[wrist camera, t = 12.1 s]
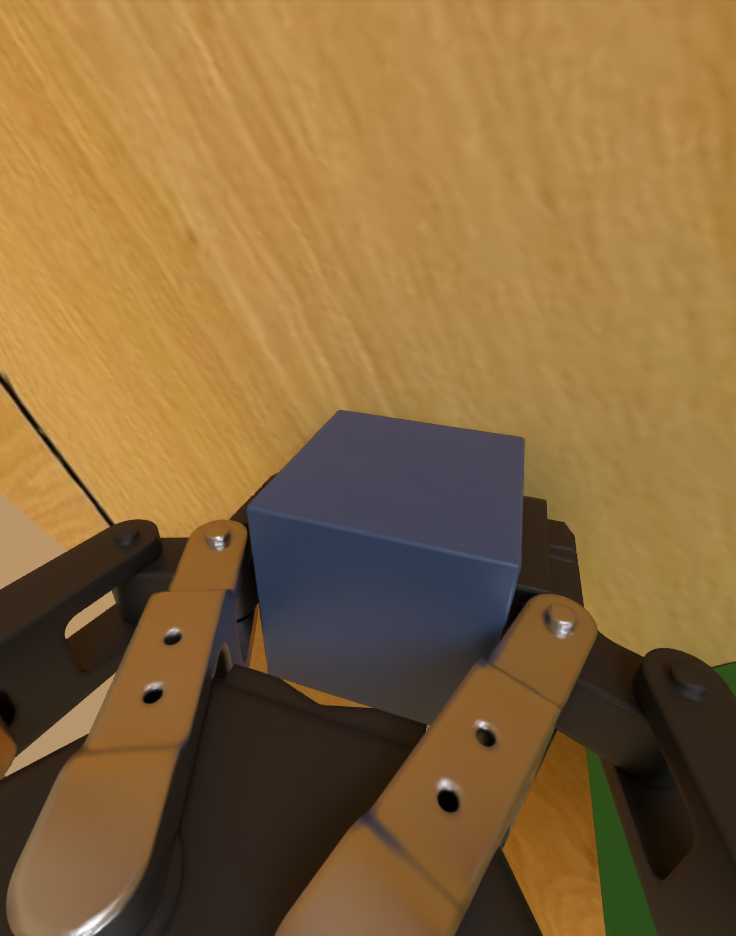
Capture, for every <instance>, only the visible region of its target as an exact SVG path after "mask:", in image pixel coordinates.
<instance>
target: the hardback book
mask: <svg viewBox="0 0 736 936" xmlns="http://www.w3.org/2000/svg"><path fill="white" fill-rule="evenodd" d="M712 669H713V670H715V671H716V672H717V673H718V674H719V675H720V676H721V677H722V678H723V680H724V681H725V682H726V684H727V685H728V686H729V688H730V690H731V691H732V693H733V694H734V696H735V697H736V663H732V664H728V665H724V666H720V667H715V668H712ZM586 751H587V760H588V770H589V779H590V789H591V798H592V808H593V818H594V827H595V837H596V846H597V856H598V865H599V875H600V884H601V894H602V903H603V913H604V922H605V932H606V936H658V934H657V931H656V928H655V925H654V922H653V919H652V916H651V913H650V910H649V907H648V904H647V901H646V898H645V894H644V891H643V888H642V885H641V882H640V879H639V876H638V873H637V870H636V867H635V864H634V861H633V858H632V855H631V852H630V848H629V845H628V842H627V839H626V836H625V833H624V830H623V827H622V824H621V821H620V818H619V815H618V812H617V809H616V806H615V802H614V799H613V796H612V793H611V790H610V787H609V784H608V781H607V778H606V775H605V772H604V769H603V766H602V763H601V759H600V756H599V755H597V754H596V753H594V752H593V751H591V750H589V749H588V748H586Z"/></svg>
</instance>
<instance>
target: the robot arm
mask: <svg viewBox="0 0 736 936" xmlns="http://www.w3.org/2000/svg"><path fill="white" fill-rule="evenodd" d="M277 474H278V473H277ZM277 474H275V475H273V476H271V477H270V478H269V479H268V480H267V481H266V482H265V483H264V484H263V485H262V488H261V487H260V488H259V489H258V490H257V491H256V493H255V495H253V496H252V497H251V498H250V499H249V500H248V501H247V502H246V503H245V504H244V505H243V506H242V507H241V508H240V509H239V510H238V511H237V512H236V513H235V514H234V515H233V516H232V517H231V518H230V519H229V520H217V521H212V522H209V523H206V524H204V525H202V526H200V527H198V528H197V529H196V530H195V531H193V533H192V534H191V535H190V537H189V538H160V535H159V531H158V528H157V526H156V525H155V524H154V523H153V522H151V521H148V520H140V519H137V520H128V521H124V522H120V523H118V524H115V525H113V526H111V527H109V528H107V529H105V530H104V531H102V532H100V533H98V534H97V535H95V536H93V537H91V538H90V539H88V540H86V541H84V542H83V543H81V544H79V545H77V546H76V547H74V548H72V549H70V550H69V551H67V552H65V553H63V554H62V555H60V556H58V557H56V558H55V559H53V560H51V561H49V562H48V563H46V564H44V565H43V566H41V567H39V568H37V569H35V570H34V571H32V572H30V573H29V574H27V575H25V576H23V577H22V578H20V579H18V580H16V581H15V582H13V583H11V584H9V585H8V586H6V587H4V588H3V589H1V590H0V936H543V935H542V933H541V930H540V928H539V926H538V924H537V922H536V920H535V918H534V916H533V914H532V912H531V910H530V907H529V905H528V903H527V901H526V899H525V897H524V895H523V893H522V891H521V889H520V886H519V884H518V882H517V880H516V878H515V876H514V874H513V872H512V870H511V868H510V866H509V863H508V861H507V859H506V857H505V855H504V853H503V849H504V847H505V845H506V842H507V840H508V838H509V836H510V834H511V832H512V829H513V827H514V825H515V823H516V820H517V818H518V816H519V814H520V811H521V809H522V807H523V804H524V802H525V800H526V798H527V795H528V793H529V791H530V789H531V786H532V784H533V782H534V780H535V778H536V776H537V773H538V771H539V769H540V767H541V765H542V763H543V760H544V758H545V756H546V754H547V752H548V749H549V747H550V745H551V743H552V741H553V739H554V736H555V734H556V732H557V730H558V731H560V732H562V733H563V734H565V735H567V736H568V737H570V738H571V739H573V740H575V741H576V742H578V743H580V744H581V745H583V746H584V747H586V748H588V749H589V750H591V751H593V752H594V753H596V754H597V755H599V756H600V759H601V763H602V766H603V769H604V772H605V775H606V778H607V781H608V784H609V787H610V790H611V793H612V796H613V799H614V802H615V806H616V809H617V812H618V815H619V818H620V821H621V824H622V827H623V830H624V833H625V836H626V839H627V842H628V845H629V848H630V852H631V855H632V858H633V861H634V864H635V867H636V870H637V873H638V876H639V879H640V882H641V885H642V888H643V891H644V894H645V898H646V901H647V904H648V907H649V910H650V913H651V916H652V919H653V922H654V925H655V928H656V931H657V934H658V936H736V697H735V696H734V694H733V693H732V691H731V690H730V688H729V686H728V685H727V684H726V682H725V681H724V680H723V678H722V677H721V676H720V675H719V674H718V673H717V672H716V671H715V670H713V669H712V668H711V667H710V666H708V665H707V664H706V663H704V662H703V661H701V660H699V659H698V658H696V657H694V656H692V655H690V654H687V653H685V652H682V651H679V650H675V649H669V648H659V649H654V650H651V651H650V652H648V653H647V654H646V655H645V657H642V656H640V655H638V654H636V653H634V652H632V651H630V650H628V649H626V648H624V647H622V646H620V645H618V644H616V643H614V642H612V641H611V640H609V639H608V638H606V637H605V636H604V635H603V634H601V633H600V632H599V631H598V629H597V625H596V622H595V620H594V619H593V617H592V616H591V614H590V613H589V612H588V611H587V610H586V609H585V608H584V604H583V596H582V589H581V581H580V574H579V566H578V564H577V563H578V559H577V553H576V544H575V537H574V535H573V534H572V532H571V531H570V529H569V528H568V527H567V525H566V524H565V523H564V522H560V521H555V520H549V519H547V503H546V500H544V499H538V498H533V497H527V496H523V520H522V559H521V571H520V574H519V578H518V582H517V586H516V589H515V593H514V597H513V601H512V605H511V608H510V612H509V616H508V620H507V624H506V627H505V631H504V635H503V638H502V639H501V641H500V642H499V644H498V645H497V647H496V648H495V650H494V651H493V652H492V654H491V655H490V657H489V658H488V659H487V660H485V659H484V658H480V659H479V660H478V661H477V662H476V663H475V664H474V665H473V667H472V668H471V670H470V671H469V672H468V674H467V675H466V677H465V678H464V679H463V681H462V682H461V684H460V685H459V686H458V688H457V689H456V691H455V692H454V693H453V695H452V696H451V698H450V699H449V700H448V702H447V703H446V705H445V706H444V707H443V709H442V710H441V712H440V713H439V714H438V716H437V717H436V719H435V720H434V721H433V723H432V724H431V726H430V727H429V728H428V730H427V731H426V728H427V724H424V723H421V722H418V721H414V720H411V719H408V718H405V717H402V716H399V715H395V714H392V713H389V712H386V711H383V710H380V709H377V708H363V707H345V706H327V705H321V704H318V703H316V702H315V701H313V700H312V699H310V698H309V697H307V696H306V695H304V694H303V693H301V692H299V691H298V690H296V689H295V688H293V687H292V686H290V685H289V684H287V683H286V682H284V681H283V680H281V679H280V678H278V677H275V676H272V675H269V674H266V673H263V672H260V671H257V670H253V669H250V668H249V666H250V660H251V654H252V648H253V642H254V636H255V630H256V624H257V617H258V608H257V604H258V603H259V602H258V594H257V586H256V579H255V571H254V564H253V556H252V548H251V541H250V533H249V525H248V518H247V510H246V509H247V506H248V504H249V503H250V502H251V501H252V500H253V499H254V498H255V497H256V496H257V495H258V494H259V493H260V492H261V491H262V490H263V489H264V488H265V487H266V486H267V485H268V483H269V482H270V481H271V480H272V479H273V478H274V477H275V476H276V475H277ZM111 590H112V593H113V596H114V598H115V601H116V604H115V605H113V606H112V607H110V608H109V609H108V610H106V611H105V612H104V613H102V614H101V615H99V616H98V617H97V618H95V619H94V620H92V621H91V622H90V623H88V624H87V625H85V626H84V627H83V628H81V629H80V630H79V631H77V632H76V633H74V634H73V635H72V636H70V637H69V638H67V639H66V638H65V629H66V626H67V624H68V623H69V621H70V620H71V619H72V618H73V617H74V616H75V615H77V614H78V613H79V612H81V611H82V610H84V609H85V608H87V607H88V606H89V605H91V604H92V603H94V602H95V601H97V600H98V599H99V598H101V597H103V596H104V595H105V594H107V593H108V592H110V591H111ZM115 672H116V674H115V677H114V679H113V681H112V683H111V685H110V688H109V690H108V692H107V694H106V697H105V699H104V701H103V704H102V706H101V708H100V711H99V712H98V715H97V717H96V719H95V721H94V724H93V726H92V728H91V730H90V733H89V734H87V735H85V736H83V737H81V738H79V739H77V740H75V741H73V742H72V743H70V744H68V745H66V746H64V747H62V748H60V749H58V750H56V751H54V752H53V753H50V754H49V755H47V756H45V757H43V758H41V759H39V760H37V761H35V762H33V763H31V764H30V765H28V766H26V767H24V768H22V769H20V770H18V771H16V772H14V773H12V774H10V775H9V776H7V777H6V776H5V775H4V774H5V773H6V772H7V770H8V769H9V767H10V766H11V764H12V762H13V760H14V758H15V757H16V756H17V755H18V754H20V753H21V752H22V751H23V750H24V749H26V748H27V747H28V746H29V745H30V744H31V743H33V742H34V741H35V740H36V739H37V738H39V737H40V736H41V735H42V734H43V733H45V732H46V731H47V730H48V729H49V728H50V727H52V726H53V725H54V724H55V723H56V722H58V721H59V720H60V719H61V718H62V717H64V716H65V715H66V714H67V713H68V712H69V711H70V710H72V709H73V708H74V707H75V706H76V705H78V704H79V703H80V702H81V701H82V700H84V699H85V698H86V697H87V696H88V695H89V694H91V693H92V692H93V691H94V690H95V689H97V688H98V687H99V686H100V685H101V684H102V683H104V682H105V681H106V680H107V679H108V678H110V677H111V676H112V675H113V674H114V673H115Z"/></svg>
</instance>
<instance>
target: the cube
mask: <svg viewBox="0 0 736 936" xmlns="http://www.w3.org/2000/svg"><path fill="white" fill-rule="evenodd" d="M524 444H525V441H524V438H522V437H515V436H509V435H502V434H495V433H489V432H482V431H476V430H469V429H462V428H456V427H449V426H442V425H436V424H429V423H423V422H416V421H409V420H403V419H396V418H390V417H383V416H376V415H370V414H363V413H356V412H350V411H343V410H339V411H337V412H336V414H335V415H334V416H333V417H332V418H331V419H330V420H329V421H328V422H327V423H326V424H325V425H324V426H323V427H322V428H321V429H320V430H319V431H318V432H317V433H316V434H315V435H314V437H313V438H312V439H311V440H310V441H309V442H308V443H307V444H306V445H305V446H304V447H303V448H302V449H301V450H300V451H299V452H298V453H297V454H296V455H295V456H294V457H293V458H292V459H291V461H290V462H289V463H288V464H287V465H286V466H285V467H284V468H283V469H282V470H281V471H280V472H279V473H278V474H277V475H276V476H275V477H274V478H273V479H272V480H271V481H270V482H269V483H268V485H267V486H266V487H265V488H264V489H263V490H262V491H261V492H260V493H259V494H258V495H257V496H256V497H255V498H254V499H253V500H252V501H251V502H250V503H249V504H248V506H247V509H246V510H247V518H248V525H249V533H250V541H251V548H252V556H253V564H254V571H255V579H256V586H257V594H258V602H259V609H260V617H261V624H262V632H263V640H264V647H265V655H266V662H267V670H268V674H269V675H272V676H275V677H278V678H280V679H284V680H287V681H290V682H293V683H296V684H299V685H303V686H306V687H309V688H312V689H315V690H318V691H322V692H325V693H328V694H331V695H334V696H337V697H340V698H344V699H347V700H350V701H353V702H356V703H359V704H363V705H366V706H369V707H372V708H377V709H380V710H383V711H386V712H389V713H392V714H395V715H399V716H402V717H405V718H408V719H411V720H414V721H418V722H421V723H424V724H427V725H429V726H431V724H432V723H433V721H434V720H435V719H436V717H437V716H438V714H439V713H440V712H441V710H442V709H443V707H444V706H445V705H446V703H447V702H448V700H449V699H450V698H451V696H452V695H453V693H454V692H455V691H456V689H457V688H458V686H459V685H460V684H461V682H462V681H463V679H464V678H465V677H466V675H467V674H468V672H469V671H470V670H471V668H472V667H473V665H474V664H475V663H476V662H477V661H478V660H479V659H480V658H484V659H485V660H487V659H488V658H489V657H490V655H491V654H492V652H493V651H494V650H495V648H496V647H497V645H498V644H499V642H500V641H501V639H502V638H503V635H504V631H505V627H506V624H507V620H508V616H509V612H510V608H511V605H512V601H513V597H514V593H515V589H516V586H517V582H518V578H519V574H520V571H521V559H522V520H523V482H524Z"/></svg>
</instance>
